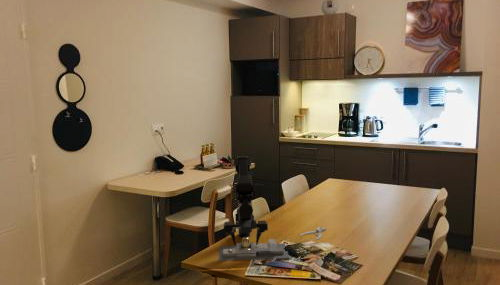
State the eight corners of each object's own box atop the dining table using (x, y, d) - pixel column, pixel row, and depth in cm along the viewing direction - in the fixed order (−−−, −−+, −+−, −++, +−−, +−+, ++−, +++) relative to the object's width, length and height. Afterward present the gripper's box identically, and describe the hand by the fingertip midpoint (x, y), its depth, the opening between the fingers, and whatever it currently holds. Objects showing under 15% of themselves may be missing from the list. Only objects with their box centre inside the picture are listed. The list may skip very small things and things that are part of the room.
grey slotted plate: (223, 251, 181) (223, 246, 181) (281, 248, 182) (281, 244, 182) (223, 258, 173) (223, 253, 173) (284, 255, 174) (284, 251, 174)
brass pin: (242, 252, 179) (241, 237, 178) (249, 252, 179) (248, 236, 179) (243, 255, 176) (243, 239, 175) (250, 254, 176) (249, 238, 176)
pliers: (299, 233, 200) (314, 225, 211) (299, 236, 200) (314, 228, 211) (317, 237, 193) (331, 228, 205) (317, 240, 194) (331, 231, 205)
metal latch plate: (236, 246, 181) (236, 239, 181) (275, 244, 182) (274, 238, 181) (237, 253, 173) (236, 246, 173) (277, 252, 174) (276, 244, 174)
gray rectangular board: (219, 247, 187) (219, 246, 187) (284, 245, 188) (284, 243, 188) (218, 262, 171) (218, 260, 171) (289, 259, 173) (289, 257, 172)
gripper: (223, 217, 167) (224, 253, 169) (268, 215, 167) (269, 251, 170) (223, 209, 178) (224, 243, 180) (266, 207, 179) (266, 241, 181)
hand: (246, 245), depth 177 cm, fingers open, 9 cm apart
